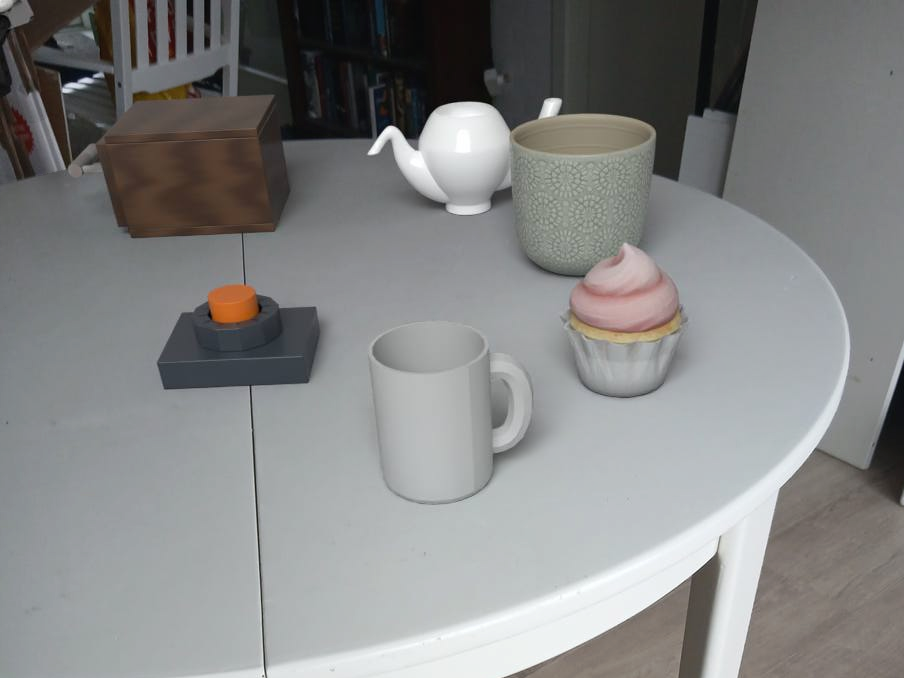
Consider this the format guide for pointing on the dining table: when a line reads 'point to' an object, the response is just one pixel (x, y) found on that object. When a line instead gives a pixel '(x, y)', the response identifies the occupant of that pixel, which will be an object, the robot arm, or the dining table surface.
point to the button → (233, 303)
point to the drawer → (85, 166)
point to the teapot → (459, 154)
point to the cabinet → (200, 166)
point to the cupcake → (624, 324)
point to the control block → (240, 348)
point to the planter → (580, 187)
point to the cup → (442, 408)
